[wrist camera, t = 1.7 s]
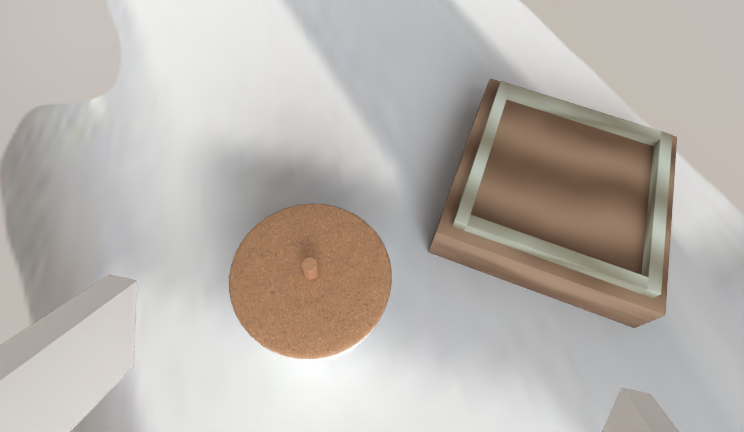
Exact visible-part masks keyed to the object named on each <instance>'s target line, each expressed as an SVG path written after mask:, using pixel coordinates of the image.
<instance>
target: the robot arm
mask: <svg viewBox="0 0 744 432" xmlns="http://www.w3.org/2000/svg"><path fill="white" fill-rule="evenodd" d="M136 296H137V281H136V280H132V279H127V278H123V277H118V276H114V275H108V276H107V277H105V278H104V279H102V280H100V281H99V282H97V283H96V284H94V285H93V286H91V287H90V288H88V289H86V290H85V291H83V292H82V293H80V294H79V295H77V296H76V297H74V298H73V299H71V300H69V301H68V302H66V303H65V304H63V305H62V306H60V307H59V308H57V309H55V310H54V311H52V312H51V313H49V314H48V315H46V316H45V317H43V318H42V319H40V320H38V321H37V322H35V323H34V324H32V325H31V326H29V327H28V328H26V329H24V330H23V331H21V332H20V333H18V334H17V335H15V336H14V337H12V338H11V339H9V340H7V341H6V342H4V343H3V344H1V345H0V432H70V431H71V430H72V429H73V428H74V427H75V426H76V425H77V424H78V423H79V422H80V421H81V420H82V419H83V418H84V417H85V416H86V415H87V414H88V413H89V412H90V411H91V410H92V409H93V408H94V407H95V406H96V405H97V404H98V403H99V401H100V400H101V399H102V398H103V397H104V396H105V395H106V394H107V393H108V392H109V391H110V390H111V389H112V388H113V387H114V386H115V385H116V384H117V383H118V382H119V381H120V380H121V379H122V378H123V377H124V376H125V375H126V374H127V373H128V372H129V371H130V370H131V369H132V367H133V366H134V347H135V322H136ZM602 432H679V431H678V430H677V428H676V427H675V426H674V424H673V423H672V422H671V420H670V419H669V418H668V417H667V415H666V414H665V413H664V411H663V410H662V409H661V407H660V406H659V405H658V403H657V402H656V401H655V399H654V398H653V397H652V396H651V394H647V393H643V392H638V391H634V390H629V389H625V388H621V390H620V392H619V395H618V397H617V399H616V401H615V404H614V406H613V408H612V410H611V413H610V415H609V417H608V419H607V422H606V424H605V426H604V428H603V431H602Z"/></svg>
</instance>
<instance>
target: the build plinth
mask: <svg viewBox="0 0 744 432" xmlns="http://www.w3.org/2000/svg"><path fill="white" fill-rule="evenodd" d="M676 143H677V137H675V136H672V135H671V134H668V133H665V132H662V131H658V130H655V129H652V128H649V127H646V126H642V125H639V124H636V123H633V122H630V121H627V120H623V119H620V118H617V117H614V116H611V115H607V114H604V113H601V112H598V111H595V110H592V109H588V108H585V107H582V106H579V105H576V104H572V103H569V102H566V101H563V100H560V99H556V98H553V97H550V96H547V95H544V94H541V93H537V92H534V91H531V90H528V89H525V88H521V87H518V86H515V85H512V84H509V83H506V82H502V81H501V82H500V81H497V80H494V79H490V80H489V83H488V85H487V88H486V90H485V93H484V95H483V98H482V100H481V103H480V105H479V108H478V111H477V114H476V117H475V120H474V123H473V125H472V128H471V131H470V134H469V137H468V140H467V143H466V145H465V148H464V151H463V154H462V157H461V160H460V163H459V166H458V168H457V171H456V174H455V177H454V180H453V183H452V186H451V188H450V191H449V194H448V197H447V200H446V203H445V206H444V209H443V211H442V214H441V217H440V220H439V223H438V226H437V229H436V231H435V234H434V237H433V240H432V243H431V246H430V249H429V252H430V253H432V254H435V255H438V256H441V257H443V258H446V259H449V260H451V261H454V262H457V263H460V264H462V265H465V266H468V267H470V268H473V269H476V270H479V271H481V272H484V273H487V274H489V275H492V276H495V277H498V278H500V279H503V280H506V281H508V282H511V283H514V284H517V285H519V286H522V287H525V288H527V289H530V290H533V291H536V292H538V293H541V294H544V295H546V296H549V297H552V298H555V299H557V300H560V301H563V302H565V303H568V304H571V305H574V306H576V307H579V308H582V309H584V310H587V311H590V312H593V313H595V314H598V315H601V316H604V317H606V318H609V319H612V320H614V321H617V322H620V323H623V324H625V325H628V326H631V327H633V328H635V327H638V326H640V325H643V324H645V323H647V322H650V321H652V320H655V319H657V318H660V317H662V316H664V315H665V312H666V296H667V281H668V266H669V250H670V235H671V220H672V204H673V189H674V174H675V158H676Z"/></svg>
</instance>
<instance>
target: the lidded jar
mask: <svg viewBox="0 0 744 432" xmlns="http://www.w3.org/2000/svg"><path fill="white" fill-rule="evenodd" d="M391 283H392V280H391V265H390V260H389V257H388V254H387V251H386V248H385V246H384V244H383V243H382V241H381V239H380V238H379V236H378V235H377V234H376V232H375V231H374V230H373V229H372V228H371V227H370V226H369V225H368V224H367V223H366V222H365V221H364V220H362V219H361V218H359V217H358V216H356V215H355V214H353V213H351V212H349V211H347V210H344V209H341V208H338V207H335V206H330V205H324V204H304V205H297V206H293V207H289V208H286V209H283V210H281V211H278V212H276V213H274V214H272V215H270V216H269V217H267V218H265V219H264V220H263V221H261V222H260V223H259V224H257V225H256V226H255V227H254V228H253V229H252V230H251V231H250V232H249V233H248V234H247V236H246V237H245V238H244V240H243V241H242V242H241V244H240V246H239V248H238V250H237V252H236V253H235V256H234V259H233V262H232V265H231V270H230V275H229V292H230V298H231V303H232V306H233V309H234V311H235V314H236V316H237V318H238V319H239V321H240V323H241V325H242V326H243V327H244V328H245V330H246V331H247V332H248V333H249V334H250V336H251V337H253V338H254V339H255V340H256V341H257V342H258V343H260V344H261V345H262V346H264V347H266V348H267V349H268V350H270V351H271V352H273V353H275V354H277V355H278V356H281V357H284V358H286V359H289V360H292V361H297V362H303V363H318V362H326V361H329V360H333V359H336V358H339V357H341V356H343V355H345V354H347V353H349V352H350V351H352V350H353V349H355V348H356V347H357V346H359V345H360V344H361V343H362V342H363V341H364V340H365V339H366V338H367V337H368V336H369V334H370V333H371V332H372V330H373V329H374V328H375V326H376V324H377V322H378V321H379V320H380V318H381V316H382V314H383V312H384V310H385V308H386V305H387V302H388V299H389V295H390V289H391Z"/></svg>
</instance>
